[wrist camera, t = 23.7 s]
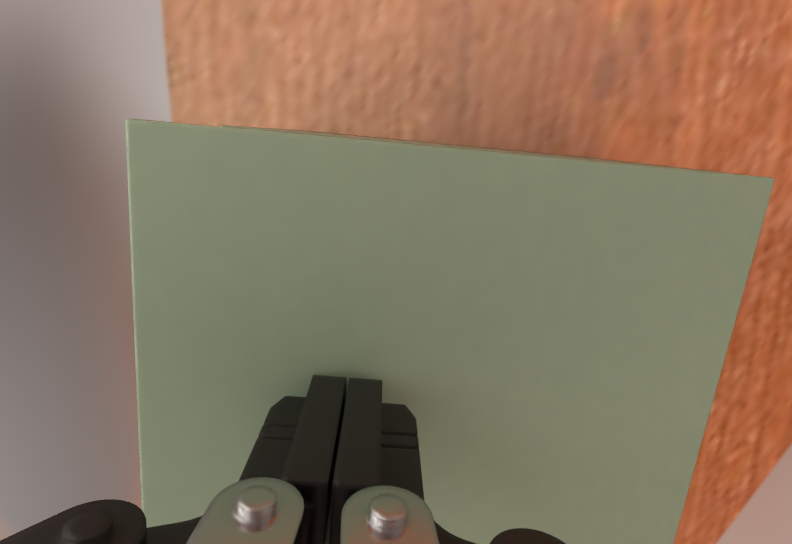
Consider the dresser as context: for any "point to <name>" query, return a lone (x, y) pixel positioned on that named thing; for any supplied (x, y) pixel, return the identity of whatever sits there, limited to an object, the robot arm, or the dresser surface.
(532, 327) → the lid
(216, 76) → the dresser surface
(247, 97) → the dresser surface
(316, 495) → the robot arm
